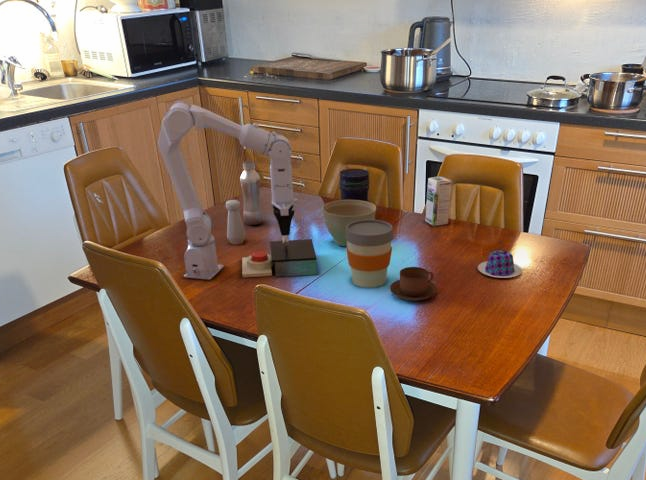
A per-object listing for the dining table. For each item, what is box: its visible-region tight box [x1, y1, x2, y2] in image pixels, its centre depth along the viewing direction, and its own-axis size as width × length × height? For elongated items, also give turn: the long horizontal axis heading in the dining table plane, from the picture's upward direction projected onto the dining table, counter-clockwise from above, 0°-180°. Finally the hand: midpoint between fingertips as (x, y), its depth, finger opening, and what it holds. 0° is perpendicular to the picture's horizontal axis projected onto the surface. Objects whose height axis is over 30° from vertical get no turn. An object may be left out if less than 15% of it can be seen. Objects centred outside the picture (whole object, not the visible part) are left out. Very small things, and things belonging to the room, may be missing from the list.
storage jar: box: [338, 168, 370, 203], centre depth 214 cm, size 10×10×15 cm
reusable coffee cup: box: [345, 219, 394, 289], centre depth 170 cm, size 13×13×15 cm
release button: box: [250, 250, 268, 262], centre depth 180 cm, size 4×4×2 cm
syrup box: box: [424, 176, 452, 227], centre depth 209 cm, size 6×6×14 cm
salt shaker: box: [225, 199, 247, 245], centre depth 195 cm, size 6×6×13 cm
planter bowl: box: [322, 199, 377, 247], centre depth 195 cm, size 16×16×11 cm
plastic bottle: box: [239, 160, 264, 226], centre depth 208 cm, size 6×7×20 cm
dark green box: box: [273, 259, 318, 278], centre depth 181 cm, size 11×14×4 cm
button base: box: [241, 253, 274, 278], centre depth 181 cm, size 9×12×3 cm
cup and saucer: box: [389, 266, 438, 302], centre depth 164 cm, size 12×12×6 cm
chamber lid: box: [269, 235, 318, 263], centre depth 179 cm, size 12×14×4 cm
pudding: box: [477, 249, 523, 279], centre depth 177 cm, size 12×12×5 cm
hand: (284, 232), depth 177 cm, fingers open, 3 cm apart
